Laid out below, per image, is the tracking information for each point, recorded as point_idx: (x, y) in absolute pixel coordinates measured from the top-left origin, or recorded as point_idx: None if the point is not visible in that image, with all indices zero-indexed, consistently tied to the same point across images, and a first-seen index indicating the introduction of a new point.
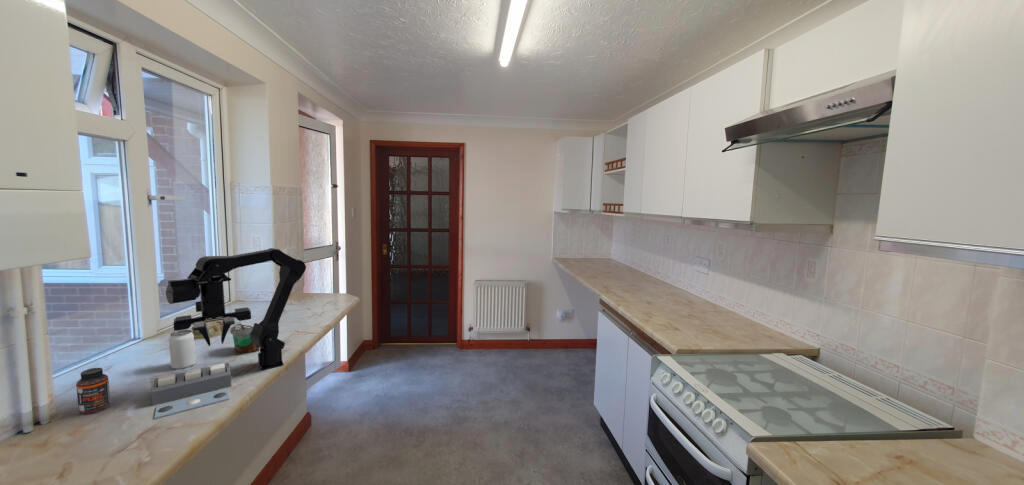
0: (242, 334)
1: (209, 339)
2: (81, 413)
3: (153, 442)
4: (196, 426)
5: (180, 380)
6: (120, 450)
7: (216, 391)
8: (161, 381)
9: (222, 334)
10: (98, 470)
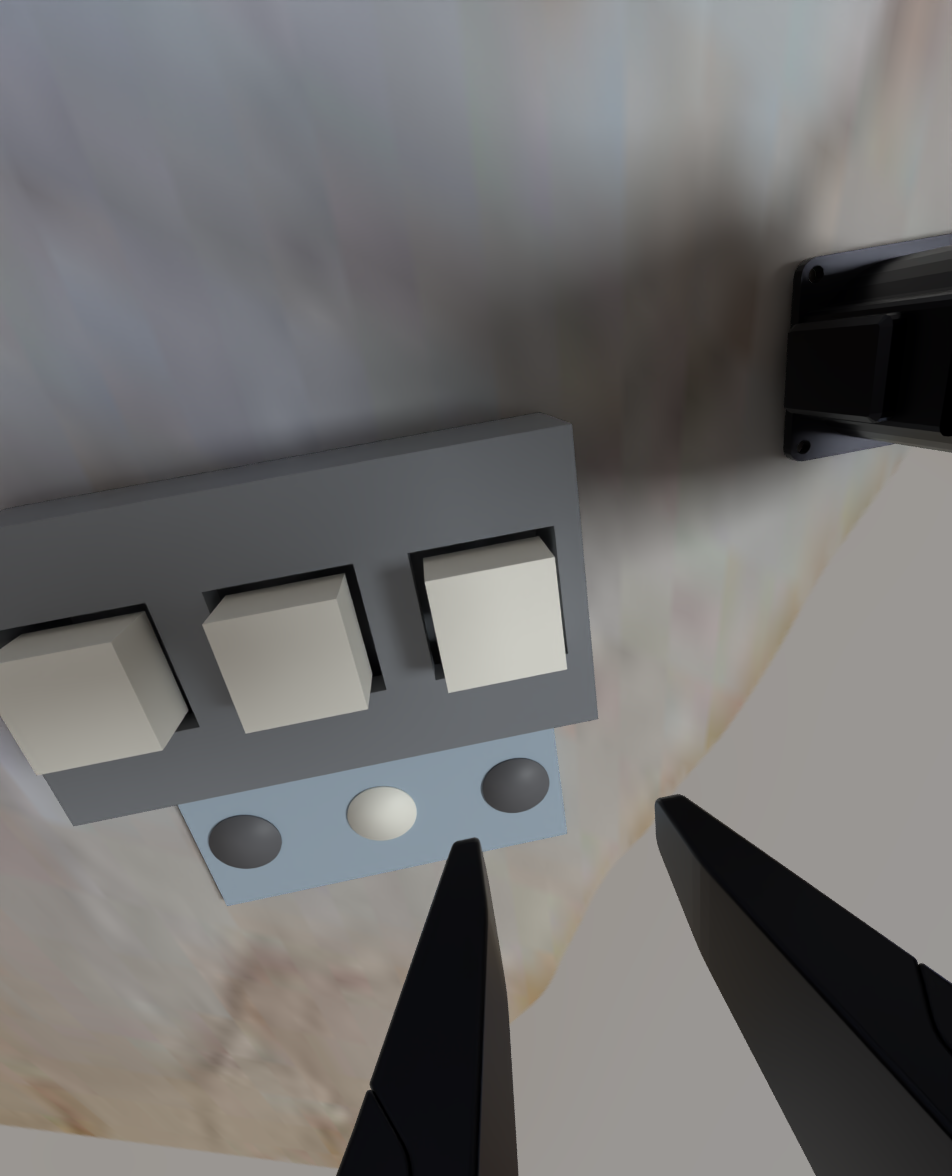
0: None
1: (510, 1067)
2: None
3: (316, 1048)
4: None
5: (214, 692)
6: (209, 1063)
7: None
8: (68, 764)
9: (812, 1155)
10: (199, 1133)
